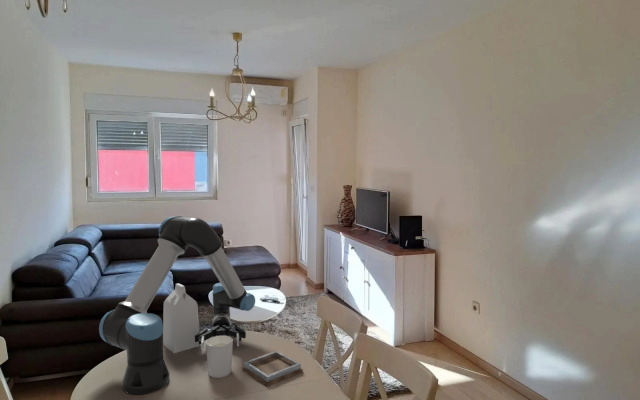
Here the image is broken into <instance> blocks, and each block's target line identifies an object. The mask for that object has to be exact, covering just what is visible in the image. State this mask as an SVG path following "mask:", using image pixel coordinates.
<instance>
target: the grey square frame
mask: <svg viewBox="0 0 640 400" xmlns="http://www.w3.org/2000/svg"><path fill="white" fill-rule="evenodd" d="M275 357H277V358H278V359H280V360H282V361H284V362H286V363H287V364H289V365H291V366H290V367H287V368H285V369H282V370H280V371H277V372H275V373H272V374H270V375H267V374H265V373H264V372H262V371H261V370H259V369H257V368H256V367H254V365H256V364H259V363H262V362H265V361H267V360H270V359H273V358H275ZM243 367H244V368H245V369H247V370H249V371H250V372H252V373H253V374H255V375H256V376H258V377H259V378H261V379H262V380H264V381H266V382H267V383H268V382H270V381H273V380H275V379H278V378H280V377H282V376H285V375H287V374H290V373H292V372H295V371H297V370H299V369H301V368H302V364H301V363H300V362H298V361H296V360H295V359H292V358H291V357H289V356H287V355H286V354H284V353H282V352H280V351H278V350H276V351H275V350H274V351H273V352H269V353H265V354H263V355H260V356H257V357H255V358H252V359H250V360H246V361H244V362H243Z"/></svg>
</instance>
